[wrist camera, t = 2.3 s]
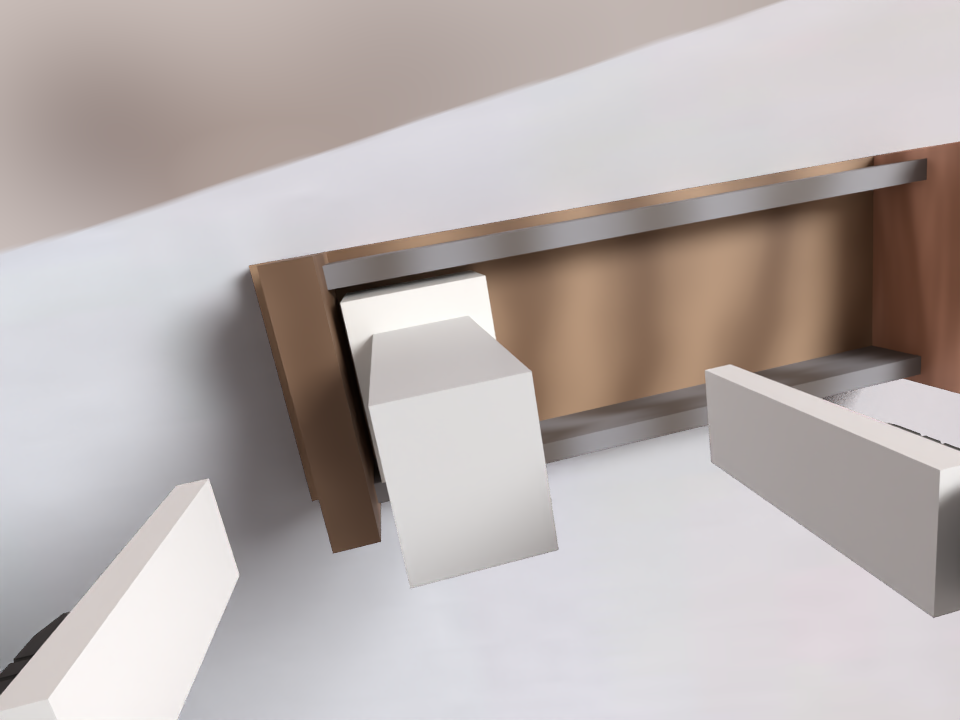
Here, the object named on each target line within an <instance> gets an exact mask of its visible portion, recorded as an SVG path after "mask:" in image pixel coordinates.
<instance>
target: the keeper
mask: <svg viewBox="0 0 960 720" xmlns="http://www.w3.org/2000/svg"><path fill="white" fill-rule="evenodd" d="M340 304H341V309H342V313H343V317H344V321H345V326H346V330H347V334H348V339H349V343H350V347H351V352H352V356H353V360H354V364H355V369H356V373H357V377H358V382H359V386H360V390H361V395H362V399H363V403H364V407H365V412H366V416H367V420H368V425H369V429H370V433H371V438H372V442H373V446H374V450H375V455H376V459H377V463H378V468H379V472H380V476H381V480H382V483H384V482H386V485H387V489H388V494H389V498H390V502H391V507H392V511H393V515H394V520H395V524H396V528H397V533H398V537H399V541H400V546H401V550H402V554H403V559H404V563H405V567H406V572H407V576H408V581H409V585H410V588H414V587H418V586H422V585H426V584H430V583H433V582H437V581H441V580H445V579H449V578H453V577H456V576H460V575H464V574H468V573H472V572H476V571H479V570H483V569H487V568H491V567H495V566H499V565H502V564H506V563H510V562H514V561H518V560H522V559H525V558H529V557H533V556H537V555H541V554H545V553H548V552H552V551H556V550H558V543H557V536H556V530H555V523H554V516H553V510H552V503H551V496H550V490H549V483H548V477H547V470H546V463H545V457H544V450H543V443H542V437H541V430H540V424H539V417H538V410H537V404H536V397H535V390H534V384H533V377H532V371H531V370H529V369H528V368H527V367H526V366H525V365H524V364H523V363H521V362H520V361H519V360H518V359H517V358H516V357H515V356H514V355H512V354H511V353H510V352H509V351H508V350H507V349H506V348H504V347H503V346H502V345H501V344H500V343H499V342H498V341H497V340H496V337H495V331H494V325H493V319H492V313H491V306H490V300H489V294H488V288H487V282H486V276H485V275H482V274H480V273H477V272H474V271H471V270H468V271H462V272H457V273H452V274H446V275H441V276H436V277H430V278H425V279H419V280H414V281H409V282H403V283H398V284H393V285H387V286H382V287H376V288H371V289H366V290H360V291H355V292H350V293H346V294H345V296H344V297H343V299H342V301H341V302H340Z"/></svg>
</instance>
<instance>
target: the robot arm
mask: <svg viewBox="0 0 960 720" xmlns="http://www.w3.org/2000/svg"><path fill="white" fill-rule="evenodd" d="M705 381H706V396H707V410H708V425H709V440H710V454H711V462H712V463H713V464H715V465H716V466H718V467H719V468H721V469H722V470H723V471H725V472H726V473H728V474H729V475H731V476H732V477H733V478H735V479H736V480H738V481H739V482H741V483H742V484H743V485H745V486H746V487H748V488H749V489H750V490H752V491H753V492H755V493H756V494H758V495H759V496H760V497H762V498H763V499H765V500H766V501H768V502H769V503H770V504H772V505H773V506H775V507H776V508H778V509H779V510H780V511H782V512H783V513H785V514H786V515H788V516H789V517H790V518H792V519H793V520H795V521H796V522H798V523H799V524H800V525H802V526H803V527H805V528H806V529H808V530H809V531H810V532H812V533H813V534H815V535H816V536H818V537H819V538H820V539H822V540H823V541H825V542H826V543H828V544H829V545H830V546H832V547H833V548H835V549H836V550H838V551H839V552H840V553H842V554H843V555H845V556H846V557H848V558H849V559H850V560H852V561H853V562H855V563H856V564H857V565H859V566H860V567H862V568H863V569H865V570H866V571H867V572H869V573H870V574H872V575H873V576H875V577H876V578H877V579H879V580H880V581H882V582H883V583H885V584H886V585H887V586H889V587H890V588H892V589H893V590H895V591H896V592H897V593H899V594H900V595H902V596H903V597H905V598H906V599H907V600H909V601H910V602H912V603H913V604H915V605H916V606H917V607H919V608H920V609H922V610H923V611H925V612H926V613H927V614H929V615H930V616H932V617H933V618H935V617H938V616H942V615H945V614H949V613H952V612H955V611H959V610H960V448H957V447H954V446H952V445H949V444H946V443H944V444H941V442H940V441H938V440H936V439H933V438H930V437H928V436H921V434H920V433H917V432H914V431H912V430H909V429H906V428H904V427H901V426H898V425H895V424H890V423H885V422H882V421H879V420H876V419H874V418H871V417H868V416H866V415H863V414H861V413H858V412H855V411H853V410H850V409H847V408H845V407H842V406H839V405H837V404H834V403H831V402H829V401H826V400H823V399H821V398H818V397H816V396H813V395H810V394H808V393H805V392H802V391H800V390H797V389H794V388H792V387H789V386H786V385H784V384H781V383H778V382H776V381H773V380H771V379H768V378H765V377H763V376H760V375H757V374H755V373H752V372H749V371H747V370H744V369H741V368H739V367H736V366H733V365H731V364H730V365H725V366H721V367H716V368H712V369H707V370H705ZM239 576H240V575H239V572H238V568H237V565H236V562H235V559H234V556H233V553H232V550H231V546H230V543H229V540H228V537H227V534H226V531H225V528H224V524H223V521H222V518H221V515H220V512H219V509H218V506H217V503H216V499H215V496H214V493H213V490H212V487H211V484H210V481H209V478H208V479H204V480H199V481H195V482H190V483H185V484H181V485H176V486H175V488H174V489H173V490H172V491H171V492H170V494H169V495H168V496H167V497H166V498H165V500H164V501H163V502H162V503H161V504H160V506H159V507H158V508H157V509H156V510H155V511H154V513H153V514H152V515H151V516H150V517H149V519H148V520H147V521H146V522H145V523H144V525H143V526H142V527H141V528H140V529H139V531H138V532H137V533H136V534H135V535H134V537H133V538H132V539H131V540H130V541H129V542H128V544H127V545H126V546H125V547H124V548H123V550H122V551H121V552H120V553H119V554H118V556H117V557H116V558H115V559H114V560H113V562H112V563H111V564H110V565H109V566H108V568H107V569H106V570H105V571H104V572H103V574H102V575H101V576H100V577H99V578H98V579H97V581H96V582H95V583H94V584H93V585H92V587H91V588H90V589H89V590H88V591H87V593H86V594H85V595H84V596H83V597H82V599H81V600H80V601H79V602H78V603H77V605H76V606H75V607H74V608H73V609H72V611H71V612H68V613H63V614H62V615H61V616H59V617H58V618H57V619H55V620H54V621H53V622H52V623H50V624H49V625H48V626H46V627H45V628H44V629H42V630H41V631H40V632H39V633H37V634H36V635H35V636H34V637H33V638H32V639H31V640H30V641H29V642H28V643H27V645H26V646H25V647H24V648H23V649H22V650H21V651H20V653H19V654H18V655H17V656H16V657H15V658H14V663H11V664H9V665H8V666H7V667H6V668H5V670H4V671H3V672H2V673H1V674H0V720H177V719H178V717H179V715H180V712H181V710H182V708H183V705H184V703H185V701H186V698H187V696H188V694H189V691H190V689H191V687H192V684H193V682H194V680H195V678H196V675H197V673H198V671H199V668H200V666H201V664H202V661H203V659H204V657H205V654H206V652H207V650H208V647H209V645H210V643H211V640H212V638H213V636H214V634H215V631H216V629H217V627H218V624H219V622H220V620H221V617H222V615H223V613H224V610H225V608H226V606H227V603H228V601H229V599H230V596H231V594H232V592H233V589H234V587H235V585H236V583H237V580H238V578H239Z"/></svg>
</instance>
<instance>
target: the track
mask: <svg viewBox="0 0 960 720" xmlns="http://www.w3.org/2000/svg"><path fill="white" fill-rule="evenodd" d="M249 268H250V272H251V276H252V280H253V283H254V287H255V291H256V294H257V298H258V302H259V306H260V309H261V313H262V317H263V320H264V324H265V328H266V332H267V335H268V339H269V343H270V346H271V350H272V354H273V358H274V361H275V365H276V369H277V372H278V376H279V380H280V383H281V387H282V391H283V395H284V398H285V402H286V406H287V409H288V413H289V417H290V421H291V424H292V428H293V432H294V435H295V439H296V443H297V447H298V450H299V454H300V458H301V461H302V465H303V469H304V473H305V476H306V480H307V484H308V487H309V491H310V495H311V499H312V501H315V500H319V502H320V506H321V510H322V514H323V517H324V521H325V525H326V529H327V532H328V536H329V540H330V544H331V547H332V551H333V553H337V552H341V551H345V550H349V549H353V548H357V547H362V546H366V545H370V544H374V543H378V542H381V503H383V502H387V501H390V498H389V494H388V489H387V485H386V482H384V483H382V480H381V476H380V472H379V468H378V463H377V459H376V455H375V450H374V446H373V442H372V438H371V433H370V429H369V425H368V420H367V416H366V412H365V407H364V403H363V399H362V395H361V390H360V386H359V382H358V377H357V373H356V369H355V364H354V360H353V356H352V352H351V347H350V343H349V339H348V334H347V330H346V326H345V321H344V317H343V313H342V309H341V304H340V302H341V301H342V299H343V297H344V296H345V294H346V293H350V292H355V291H360V290H366V289H371V288H376V287H382V286H387V285H393V284H398V283H403V282H409V281H414V280H419V279H425V278H430V277H436V276H441V275H446V274H452V273H457V272H462V271H468V270H471V271H474V272H477V273H480V274H482V275H485V276H486V282H487V288H488V294H489V300H490V306H491V313H492V319H493V325H494V331H495V337H496V340H497V341H498V342H499V343H500V344H501V345H502V346H503V347H504V348H506V349H507V350H508V351H509V352H510V353H511V354H512V355H514V356H515V357H516V358H517V359H518V360H519V361H520V362H521V363H523V364H524V365H525V366H526V367H527V368H528V369H529V370H531V371H532V377H533V384H534V390H535V397H536V404H537V410H538V417H539V424H540V430H541V437H542V443H543V450H544V457H545V463H550V462H555V461H559V460H563V459H567V458H571V457H576V456H580V455H584V454H588V453H592V452H596V451H601V450H605V449H609V448H613V447H617V446H622V445H626V444H630V443H634V442H638V441H643V440H647V439H651V438H655V437H659V436H664V435H668V434H672V433H676V432H680V431H685V430H689V429H693V428H697V427H701V426H706V425H708V410H707V396H706V381H705V370H707V369H712V368H716V367H721V366H725V365H730V364H731V365H733V366H736V367H739V368H741V369H744V370H747V371H749V372H752V373H755V374H757V375H760V376H763V377H765V378H768V379H771V380H773V381H776V382H778V383H781V384H784V385H786V386H789V387H792V388H794V389H797V390H800V391H802V392H805V393H808V394H810V395H813V396H816V397H818V398H823V397H827V396H831V395H836V394H840V393H844V392H848V391H852V390H857V389H861V388H865V387H869V386H873V385H878V384H882V383H886V382H890V381H894V380H899V379H907V380H911V381H914V382H918V383H922V384H925V385H929V386H933V387H937V388H940V389H944V390H948V391H951V392H955V393H959V394H960V142H955V143H949V144H943V145H937V146H929V147H923V148H917V149H911V150H905V151H899V152H893V153H888V154H882V155H876V156H870V157H865V158H859V159H853V160H848V161H842V162H836V163H831V164H825V165H819V166H813V167H808V168H802V169H796V170H791V171H785V172H779V173H773V174H768V175H762V176H756V177H751V178H745V179H739V180H734V181H728V182H722V183H716V184H711V185H705V186H699V187H694V188H688V189H682V190H676V191H671V192H665V193H659V194H654V195H648V196H642V197H637V198H631V199H625V200H619V201H614V202H608V203H602V204H597V205H591V206H585V207H579V208H574V209H568V210H562V211H557V212H551V213H545V214H539V215H534V216H528V217H522V218H517V219H511V220H505V221H500V222H494V223H488V224H482V225H477V226H471V227H465V228H460V229H454V230H448V231H442V232H437V233H431V234H425V235H420V236H414V237H408V238H403V239H397V240H391V241H385V242H380V243H374V244H368V245H363V246H357V247H351V248H345V249H340V250H334V251H328V252H323V253H317V254H311V255H306V256H300V257H294V258H288V259H283V260H277V261H271V262H266V263H260V264H255V265H250V266H249Z"/></svg>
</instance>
